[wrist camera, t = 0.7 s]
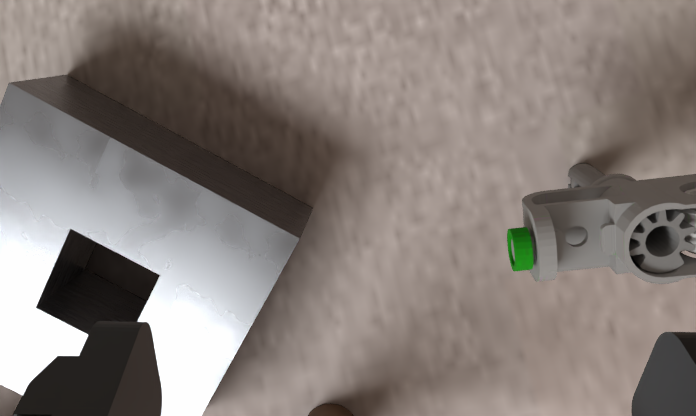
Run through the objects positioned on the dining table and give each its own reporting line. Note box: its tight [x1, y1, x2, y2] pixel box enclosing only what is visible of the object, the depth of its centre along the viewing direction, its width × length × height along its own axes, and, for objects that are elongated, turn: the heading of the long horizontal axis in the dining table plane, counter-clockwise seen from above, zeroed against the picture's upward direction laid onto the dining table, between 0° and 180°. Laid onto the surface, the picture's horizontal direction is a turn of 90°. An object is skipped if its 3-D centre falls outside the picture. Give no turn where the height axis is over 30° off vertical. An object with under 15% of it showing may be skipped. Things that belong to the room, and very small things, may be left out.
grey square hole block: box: [0, 75, 313, 416], centre depth 32 cm, size 14×14×5 cm
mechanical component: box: [507, 164, 696, 284], centre depth 27 cm, size 3×10×10 cm, turn 98°
